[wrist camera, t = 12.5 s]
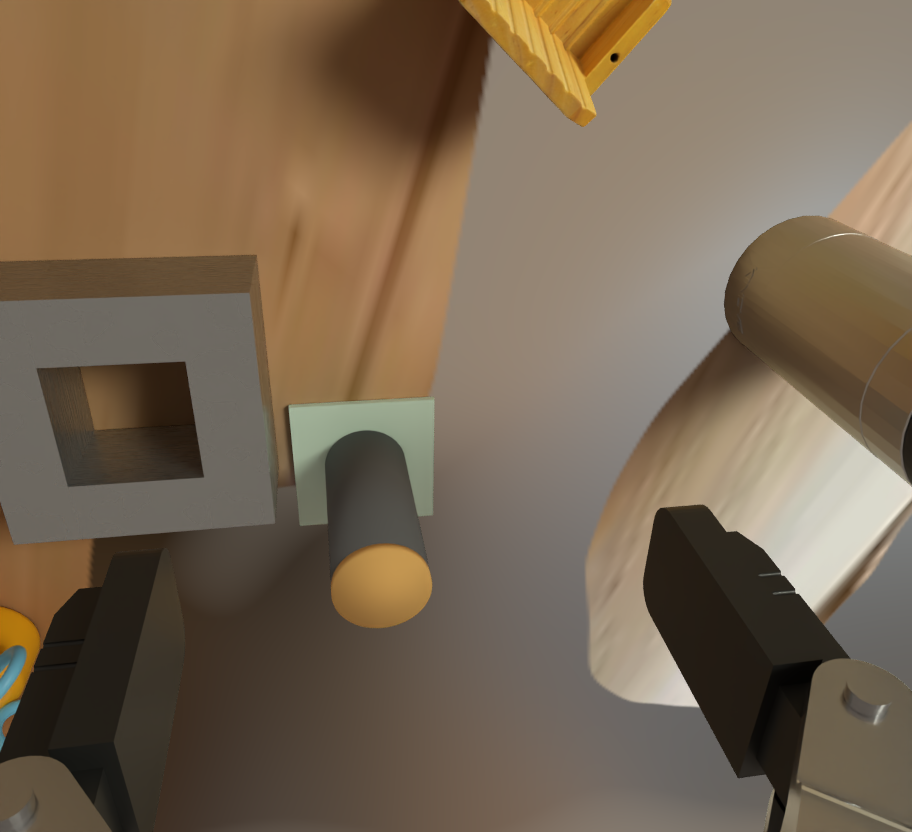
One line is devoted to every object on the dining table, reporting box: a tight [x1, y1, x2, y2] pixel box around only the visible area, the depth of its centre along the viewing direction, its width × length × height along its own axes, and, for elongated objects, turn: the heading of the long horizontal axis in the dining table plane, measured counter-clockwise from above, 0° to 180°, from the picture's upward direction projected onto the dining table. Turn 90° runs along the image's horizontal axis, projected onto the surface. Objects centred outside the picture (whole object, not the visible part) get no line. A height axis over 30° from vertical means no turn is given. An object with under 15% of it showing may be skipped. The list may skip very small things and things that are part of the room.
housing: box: [0, 255, 279, 545], centre depth 43 cm, size 14×14×6 cm
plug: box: [325, 430, 432, 628], centre depth 45 cm, size 5×5×12 cm
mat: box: [289, 397, 434, 526], centre depth 50 cm, size 9×9×1 cm
